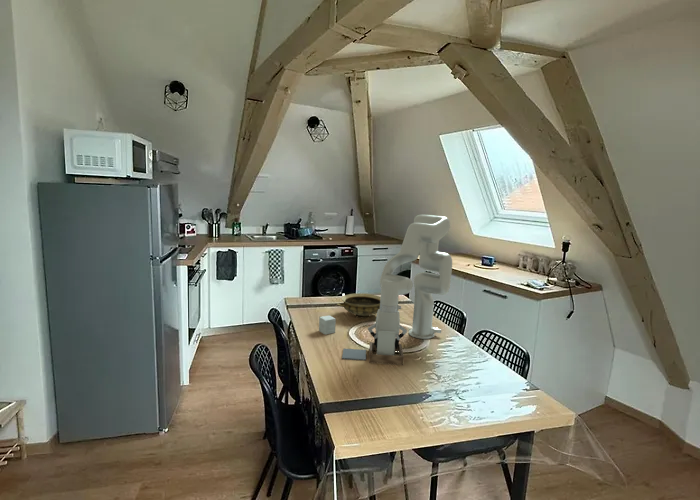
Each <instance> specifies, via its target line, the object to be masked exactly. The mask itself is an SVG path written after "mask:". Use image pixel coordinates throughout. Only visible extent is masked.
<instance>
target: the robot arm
mask: <svg viewBox="0 0 700 500" xmlns="http://www.w3.org/2000/svg"><path fill="white" fill-rule="evenodd" d="M413 218H414V219H413V222H412V223H410V224H409V225H408V227H407V230H406V232H405V236H404V238H403V241H402V244H401V247H400V250H399V252H397V253H396V254H394V256H392V257H391V258H390V259H389V260H388V261H387V262H386V264H385V265H384V266H383V270H382V273H381V275H380V279H379V286H380V309H378V312H377V313H376V316H375V317H376V318H375V323H373V324H371V325H370V326H368V327H367V331H368V332H369V333H370V335H371V336H372V338H373V340H374V341H373V342H374V345H376V348H377V341H378V331H395V332H396V340H395V349H397V347H399V344H400V340H401V339H402V338H403V337H404V336H405V335H406V334H407V332H408V334H409V336H411V337H413V338H415V339H423V340H428V339H433V338H434V337H435V333H437V334H442V329H441V328H438V327H434V326H433V317H434V305H435V301H434V297H433V295H438V296H446V295H447V294H448V293H449V292H450V286H451V281H452V280H451V279H452V271H453V257H452V256H451V255H450V254H449V253H447V252H442V251H439V244H440V241H441V239H443V238H444V237H445V236H446V235H447V234H448V232H449V231H450V228H451V221H450V219H449V218H448V217H447V216H442V215H433V214H418V215H416V216H414V217H413ZM418 259H419V260H418ZM416 260H418V266H419V267H420V268H421V269H423V270H427V271H431V272H437V273H439V274H436V273H431V272H425V271H421V272H418V273H416V274H415V275H414V278H413V280H412V279H410V278H409V277H406V276H402V275H398V274H394V271H395V270H396V269H397V268H398V267H400V266H402V265H403V264H406V263H411V262H413V261H416ZM413 288H414V301H413V302H414V303H413V314H412V315H413V316H412V317H413V318H412V328H411V329H409V330H407V329H406V328H405V327H404V326H402V325H401V320H400V319H401V318H400V310H402V305H399V296H401V295H407V294H409V293H410V292H411V291H412V290H413ZM432 294H433V295H432ZM373 329H375V332H374V331H373ZM400 331H402V332H400Z"/></svg>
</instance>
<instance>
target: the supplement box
mask: <svg viewBox="0 0 700 500" xmlns="http://www.w3.org/2000/svg"><path fill="white" fill-rule="evenodd" d="M395 340H396V332H395V331H378V341H377V351H376V354H378V355H394V356H395V355H396V354H395V353H396V352H395Z"/></svg>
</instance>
